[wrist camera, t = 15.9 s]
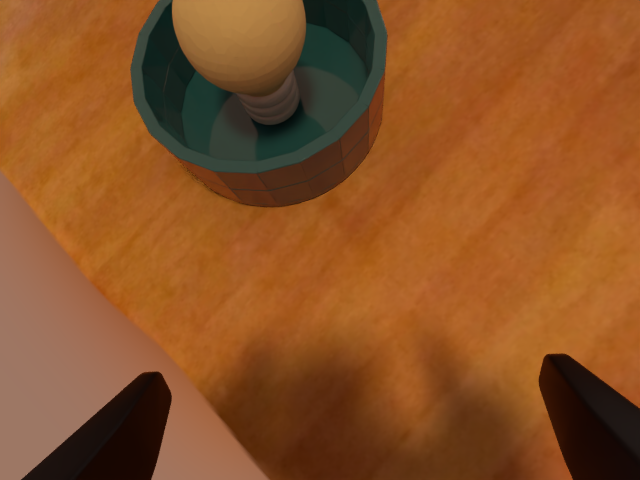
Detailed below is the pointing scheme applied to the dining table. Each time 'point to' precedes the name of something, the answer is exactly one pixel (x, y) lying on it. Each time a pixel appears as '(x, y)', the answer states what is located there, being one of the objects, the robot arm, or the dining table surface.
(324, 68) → the round teal dish
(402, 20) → the dining table surface
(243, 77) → the light bulb
